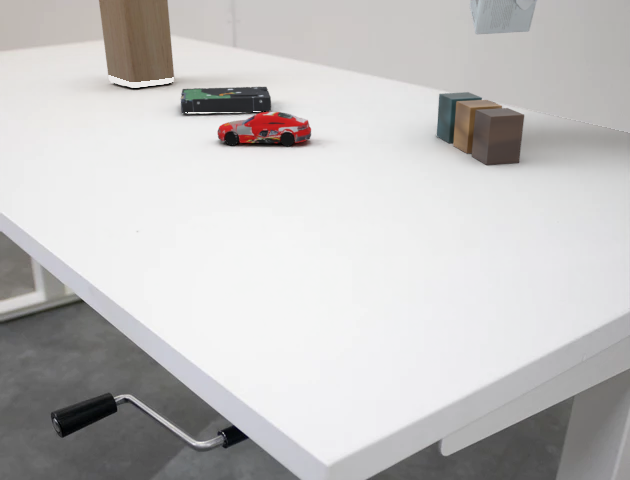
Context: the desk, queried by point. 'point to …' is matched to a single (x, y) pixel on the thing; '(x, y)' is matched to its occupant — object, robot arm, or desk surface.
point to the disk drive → (225, 99)
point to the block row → (480, 127)
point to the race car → (266, 129)
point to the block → (137, 39)
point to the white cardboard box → (500, 16)
